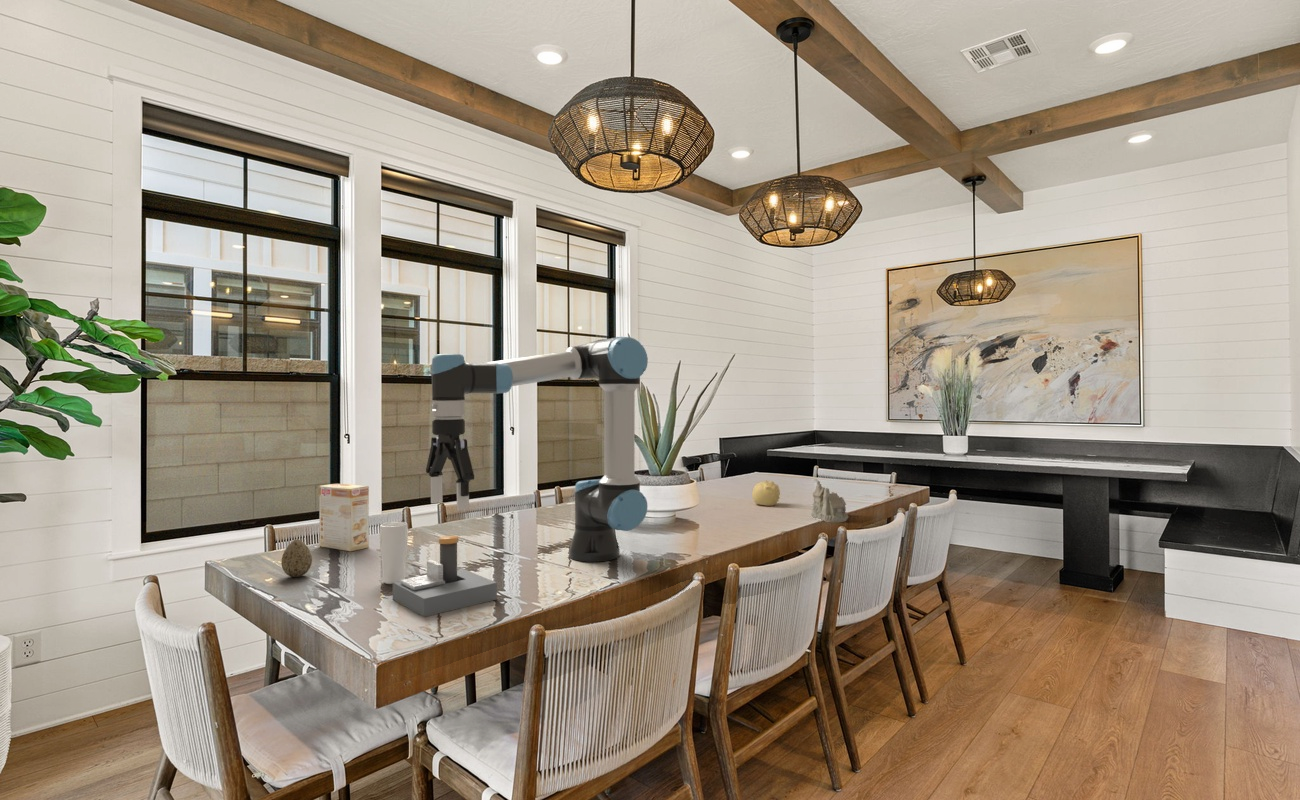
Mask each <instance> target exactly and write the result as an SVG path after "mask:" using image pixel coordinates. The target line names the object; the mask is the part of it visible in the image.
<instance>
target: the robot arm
mask: <svg viewBox="0 0 1300 800" xmlns="http://www.w3.org/2000/svg"><path fill="white" fill-rule="evenodd" d="M648 363H649V362H648V354H647V350H646V349H645V347H644V346H643V345H642V344H641V342H640V341H639V340H637V339H635V338H634V337H629V336H615V337H611V338H604V339H603V338H602V339H598V340H594V341H591V342H590V341H589V342H587V343H584V344H580V345H575V346H570V347H567V349H566V350H564V351H559V352H558V351H557V352H552V353H545V354H544V353H543V354H536V355H530V356H529V355H528V356H522V357H515V358H509V359H501V360H495V361H493V360H492V361H487V362H480V363H479V362H471V363H470V362H466V360H465V356H464V355H463V354H459V353H458V354H457V353H456V354H455V353H441V354H440V353H439V354H435V355H433V356H432V360H431V372H430V374H431V395H432V396H431V397H432V398H431V403H432V404H431V405H430V408H431V409H432V410H431V411H432V415H431V416H432V418H434V419H433V420H432V421H431V423H432V424H431V427H432V430H431V432H432V435H434V437H433V436H432V437H431V441H430V442H431V443H430V444H431V445H430V449H429V454H428V458H427V459H428V460H427V464H426V467H425V472H426V474H428V475H429V477H430V504H439V503H443V500H444V499H443V497H444V496H443V475H444V474H443V472H442V471H443V468H444V466H445V464H446V461H447V459H448V460H450V462H451V464H452V468H453V469H454V473H455V475H456V478H457V479H456V481H455V483H456V511H458V512H460V511H465V510H470V482H471V481H473V480H475V474H474V468H473V466H472V461H471V458H470V454H469V448H468V439H460V436H461V435H464V434H465V433H466V421H465V419H464V418H463V417H465V416H466V414H465V413H466V411H465V410H466V406H465V405H466V403H465V402H466V401H465V399H466V398H465V395H466V394H497V395H498V394H506V393H509V392H510V391H511V389H512V387H515V386H522V385H528V384H534V383H540V382H541V383H542V382H548V381H553V380H557V379H558V380H560V379H565V378H571V379H572V380H580V379H596V380H597V379H598V385H599V387H600V388H601V389H602V390H603V392H604V393H603V394H604V400H603V401H604V404H603V407H604V409H603V411H604V413H603V415H604V417H603V418H604V419H603V420H604V421H603V422H604V424H603V426H604V427H603V428H604V431H603V432H604V435H603V437H604V438H603V439H604V441H603V443H604V445H603V446H604V447H603V448H604V449H603V450H604V451H603V453H604V455H603V462H604V463H603V464H604V465H603V467H604V468H603V469H604V471H603V473H604V474H603V476H602V477H601V478H597V479H586V480H579V481H577V482H576V483H575V487H574V533H573V536H572V539H571V543H570V547H569V548H568V550H569V551H568V556H569V559H571V560H574V561H578V562H590V563H591V562H594V563H595V562H606V561H608V562H609V561H613V560H615V559H617V558H619V557H620V555H621V554H620V545H619V542H618V539H617V536H616V533H615V530H616V531H622V532H623V531H624V532H625V531H626V532H627V531H632V530H634V529H637V527H639V526H640V524H641V523H642V522H643V521H644V520H645V518H646V515H647V512H648V501H647V498H646V497H645V496H644V494H643V493H642V492H641V490H640V488H641V481H640V480H639V479H638V478H637V476H636V475H635V442H636V441H635V438H636V437H635V436H636V435H635V429H636V428H635V427H636V426H635V418H636V417H635V413H636V411H635V405H636V404H635V403H636V402H635V397H636V396H635V391H636V390H637V389H638V388H639V387H640V385H641V376H642V375H643V374H644V372H646V370H647V368H648Z"/></svg>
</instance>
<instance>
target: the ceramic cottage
mask: <svg viewBox="0 0 1300 800" xmlns="http://www.w3.org/2000/svg"><path fill="white" fill-rule="evenodd" d="M812 496H813V503H812V512H811V516H812V517H813V518H818V519H821V520H824V521H825V522H824V523H831V524H832V523H833V524H835V523H843V522H846V521H847V520H848V519H849V518H850V517H849V515H848V514H847V513H846V512H847V510H846V509H847V508H846V505H847V503H846V501H845V499H844V498H843V496H839V495H838V493H837V492H833V491H832V492H830V488H828V487H827V488H825V487H824V486H822V483H821V481H820V480H817V481H816V487H815V490H814V492H812ZM811 516H810V517H811ZM813 518H812V519H813Z"/></svg>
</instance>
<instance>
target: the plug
mask: <svg viewBox="0 0 1300 800" xmlns="http://www.w3.org/2000/svg"><path fill="white" fill-rule="evenodd" d="M458 543H459V536H456V535H444V536H440V537H439V538H438V544H439V563H440V564H443V580H445V584H446V583H451V582H456V581H457V570H458Z"/></svg>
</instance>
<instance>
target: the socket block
mask: <svg viewBox="0 0 1300 800" xmlns="http://www.w3.org/2000/svg"><path fill="white" fill-rule="evenodd" d="M392 600H393V601H395V602H397V603H398V604H400V605H401V606H404V607H406V608H408V609H410V610H411V611H413V612H414V613H416V614H418V615H420V616H421V617H423V618H424V617H430V616H435V615H438V614H442V613H446V612H451V611H455V610H459V609H462V608H467V607H470V606H476V605H479V604H482V603H483V604H484V603H488V602H491V601H495V600H498V582H497V581H494V580H492V579H489V578H487V577H484V576H482V575H479V574H477V573H474V572H472V571H470V570H467V569H465V568H457V581H456V582H451V583H446V584H442V585H437V586H432V587H428V588H423V589H418V590H412V589H410V588H408V587H407V586H405V585H403V584H401V583H400V581H397V582H393V584H392Z"/></svg>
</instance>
